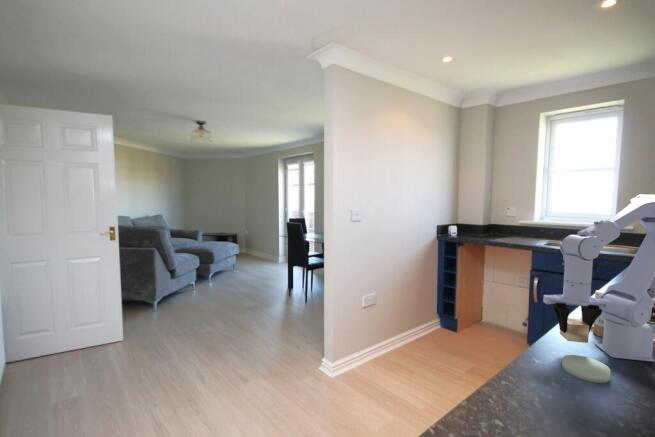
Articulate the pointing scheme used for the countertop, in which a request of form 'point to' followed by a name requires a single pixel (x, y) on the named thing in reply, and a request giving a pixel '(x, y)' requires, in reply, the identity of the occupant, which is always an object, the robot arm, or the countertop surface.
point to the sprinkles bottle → (599, 318)
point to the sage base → (586, 368)
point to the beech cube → (576, 331)
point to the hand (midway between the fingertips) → (573, 332)
